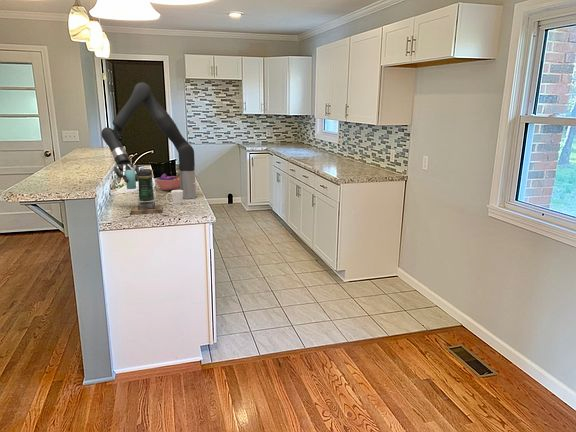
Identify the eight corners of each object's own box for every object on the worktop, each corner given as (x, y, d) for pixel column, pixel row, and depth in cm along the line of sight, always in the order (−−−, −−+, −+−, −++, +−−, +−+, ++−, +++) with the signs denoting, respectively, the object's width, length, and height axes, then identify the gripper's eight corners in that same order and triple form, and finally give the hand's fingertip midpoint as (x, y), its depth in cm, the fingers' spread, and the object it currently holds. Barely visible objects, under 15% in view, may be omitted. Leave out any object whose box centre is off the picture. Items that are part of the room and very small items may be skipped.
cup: (184, 205, 253) (183, 191, 251) (166, 206, 250) (165, 192, 248) (183, 202, 260) (182, 189, 258) (166, 203, 257) (165, 190, 255)
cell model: (182, 193, 287) (181, 175, 284) (152, 192, 288) (150, 175, 285) (188, 188, 304) (187, 171, 301) (160, 187, 304) (158, 171, 301)
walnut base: (162, 207, 247) (162, 200, 246) (161, 213, 236) (161, 205, 234) (132, 209, 243) (132, 201, 242) (130, 214, 232) (129, 206, 231)
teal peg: (136, 187, 245) (135, 169, 243) (136, 188, 241) (134, 170, 238) (127, 187, 244) (125, 169, 241) (126, 189, 239) (124, 171, 237)
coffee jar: (151, 201, 263) (148, 170, 259) (137, 201, 263) (135, 170, 258) (155, 197, 273) (153, 168, 268) (142, 197, 273) (140, 168, 268)
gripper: (109, 154, 238) (121, 178, 233) (134, 152, 247) (146, 175, 242) (106, 163, 243) (118, 187, 238) (131, 160, 252) (143, 183, 247)
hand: (132, 181), depth 240 cm, fingers closed on teal peg, 5 cm apart
